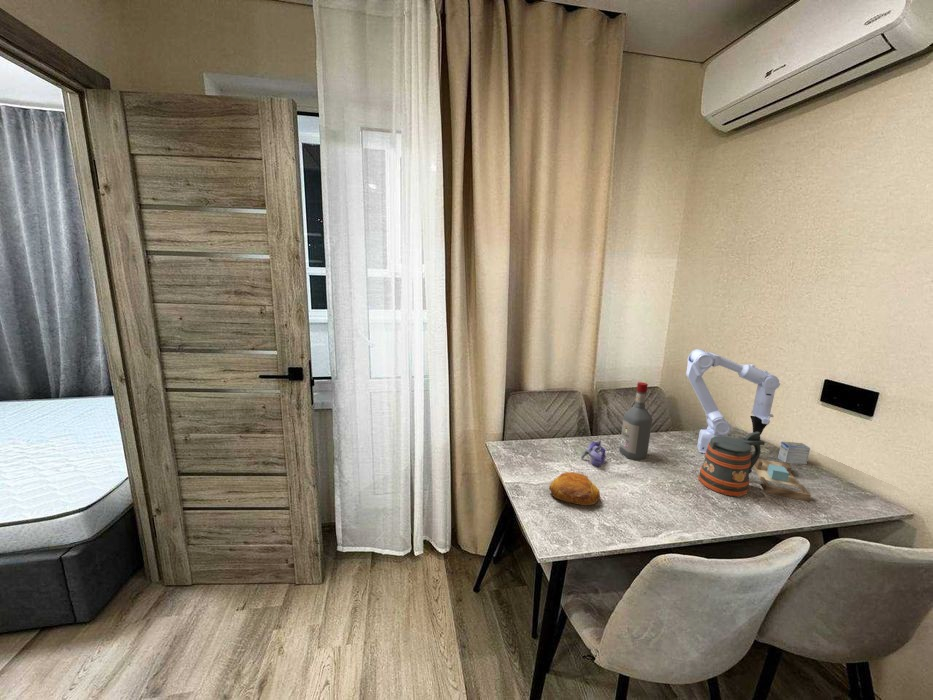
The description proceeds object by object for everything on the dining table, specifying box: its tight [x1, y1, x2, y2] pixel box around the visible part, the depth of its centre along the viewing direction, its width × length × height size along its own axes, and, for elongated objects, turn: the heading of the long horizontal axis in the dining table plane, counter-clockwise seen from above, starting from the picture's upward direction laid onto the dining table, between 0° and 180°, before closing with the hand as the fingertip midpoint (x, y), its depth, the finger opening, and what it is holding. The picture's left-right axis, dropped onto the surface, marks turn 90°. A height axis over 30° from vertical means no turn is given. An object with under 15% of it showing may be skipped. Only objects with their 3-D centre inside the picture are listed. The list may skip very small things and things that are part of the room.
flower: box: [580, 440, 607, 468], centre depth 147 cm, size 9×9×10 cm
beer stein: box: [698, 431, 766, 497], centre depth 134 cm, size 19×15×20 cm
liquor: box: [618, 381, 653, 461], centre depth 153 cm, size 9×9×30 cm
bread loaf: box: [548, 471, 601, 506], centre depth 126 cm, size 14×16×8 cm
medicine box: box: [777, 441, 811, 465], centre depth 152 cm, size 8×4×9 cm, turn 84°
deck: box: [752, 457, 812, 503], centre depth 141 cm, size 12×26×4 cm, turn 157°
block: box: [767, 464, 789, 482], centre depth 139 cm, size 4×5×4 cm
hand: (756, 434), depth 156 cm, fingers closed
